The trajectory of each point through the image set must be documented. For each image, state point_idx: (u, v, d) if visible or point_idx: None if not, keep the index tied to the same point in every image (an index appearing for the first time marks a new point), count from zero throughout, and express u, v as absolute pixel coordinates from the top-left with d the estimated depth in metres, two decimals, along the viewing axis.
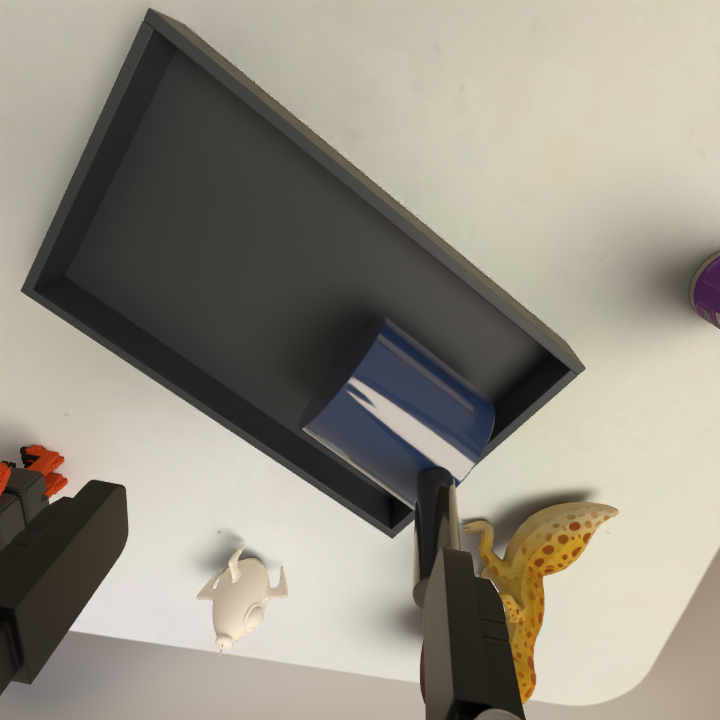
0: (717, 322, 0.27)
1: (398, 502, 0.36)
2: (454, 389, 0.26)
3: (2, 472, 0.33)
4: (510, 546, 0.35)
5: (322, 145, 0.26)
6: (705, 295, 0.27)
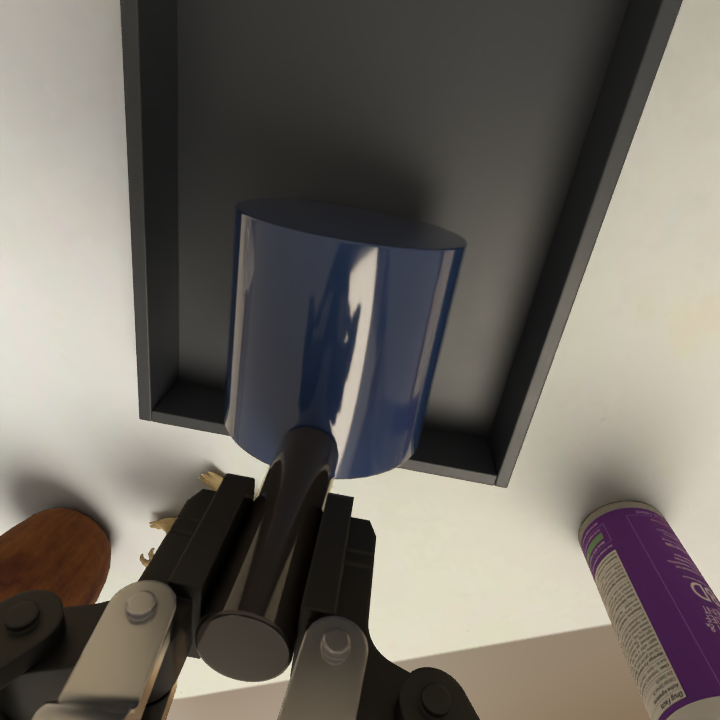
0: (603, 556, 0.25)
1: (185, 390, 0.24)
2: (430, 386, 0.18)
3: None
4: None
5: None
6: (617, 527, 0.25)
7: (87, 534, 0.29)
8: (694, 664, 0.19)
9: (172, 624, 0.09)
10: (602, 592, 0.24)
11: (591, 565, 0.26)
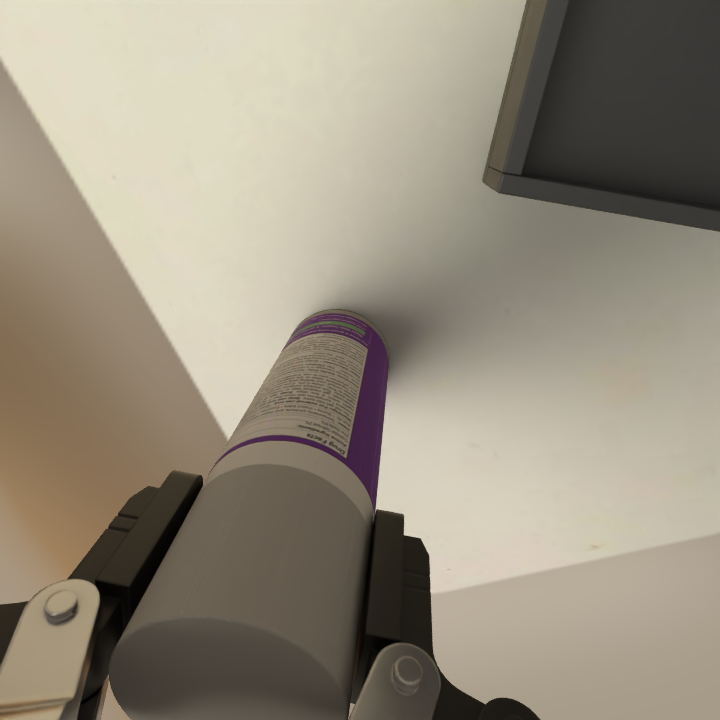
0: (353, 338, 0.19)
1: None
2: None
3: None
4: None
5: None
6: (378, 348, 0.20)
7: None
8: (367, 457, 0.14)
9: (94, 623, 0.09)
10: (316, 344, 0.18)
11: (323, 327, 0.19)
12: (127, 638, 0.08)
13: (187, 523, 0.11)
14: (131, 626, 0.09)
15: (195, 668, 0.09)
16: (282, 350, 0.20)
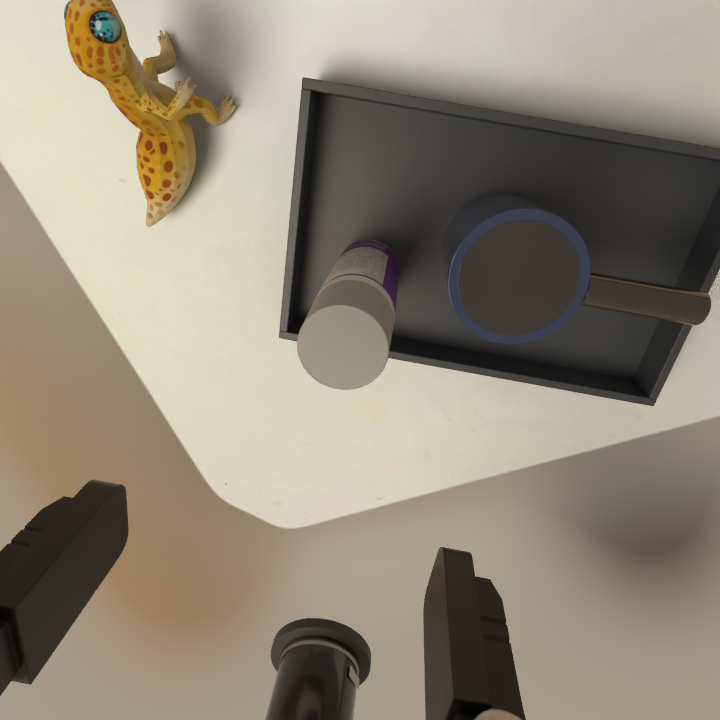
0: (379, 250, 0.34)
1: (316, 104, 0.32)
2: None
3: None
4: (189, 130, 0.33)
5: None
6: (393, 259, 0.35)
7: None
8: (391, 291, 0.28)
9: None
10: (360, 250, 0.33)
11: (362, 245, 0.34)
12: (308, 318, 0.23)
13: (317, 299, 0.25)
14: (309, 316, 0.23)
15: (332, 331, 0.23)
16: None
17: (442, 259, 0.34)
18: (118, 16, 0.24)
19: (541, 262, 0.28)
